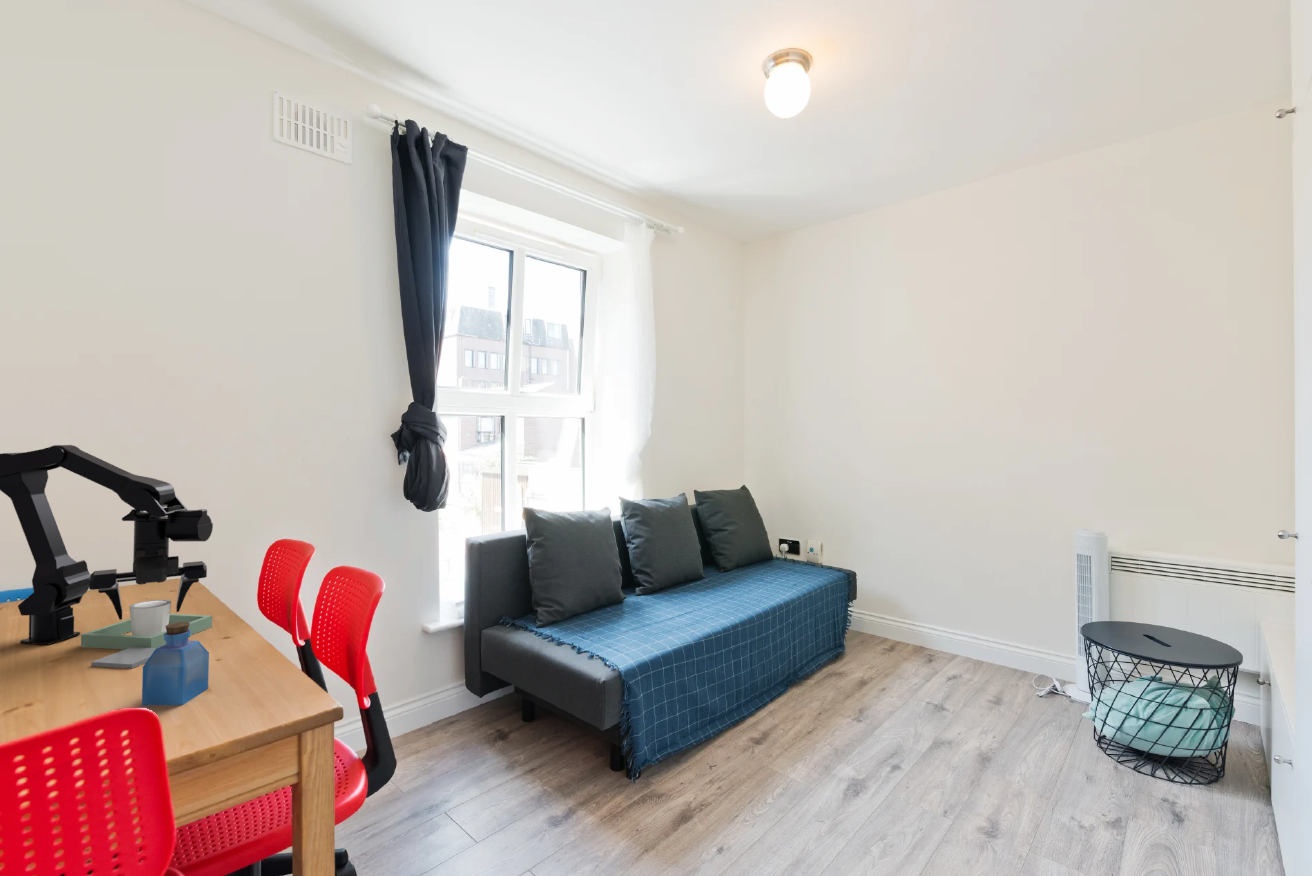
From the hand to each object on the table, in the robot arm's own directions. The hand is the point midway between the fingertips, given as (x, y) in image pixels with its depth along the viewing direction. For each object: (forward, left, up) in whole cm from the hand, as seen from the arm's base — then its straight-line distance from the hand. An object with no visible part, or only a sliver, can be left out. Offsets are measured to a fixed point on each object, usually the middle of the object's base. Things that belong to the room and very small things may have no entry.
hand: (149, 615), depth 127 cm
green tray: (0, 0, -4) cm, 5 cm away
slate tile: (+8, -12, -4) cm, 15 cm away
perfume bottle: (+30, -25, -5) cm, 39 cm away
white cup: (0, 0, -5) cm, 5 cm away
